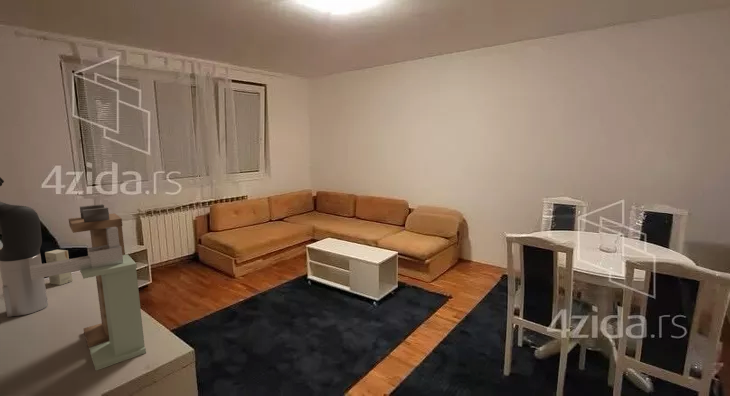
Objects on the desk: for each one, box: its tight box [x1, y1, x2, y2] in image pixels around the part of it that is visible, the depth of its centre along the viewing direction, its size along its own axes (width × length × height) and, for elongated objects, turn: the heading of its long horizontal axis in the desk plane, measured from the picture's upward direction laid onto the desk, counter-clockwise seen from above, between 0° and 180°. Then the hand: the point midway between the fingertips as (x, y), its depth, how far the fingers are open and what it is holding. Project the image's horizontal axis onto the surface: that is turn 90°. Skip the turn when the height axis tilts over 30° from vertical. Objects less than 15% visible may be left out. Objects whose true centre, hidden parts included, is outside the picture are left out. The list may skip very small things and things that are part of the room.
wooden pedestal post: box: [68, 204, 126, 348], centre depth 93 cm, size 10×10×35 cm
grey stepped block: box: [30, 227, 123, 280], centre depth 79 cm, size 16×4×8 cm, turn 134°
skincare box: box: [44, 249, 73, 286], centre depth 131 cm, size 6×4×12 cm
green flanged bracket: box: [79, 254, 147, 371], centre depth 85 cm, size 10×10×23 cm
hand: (0, 179), depth 85 cm, fingers open, 8 cm apart
